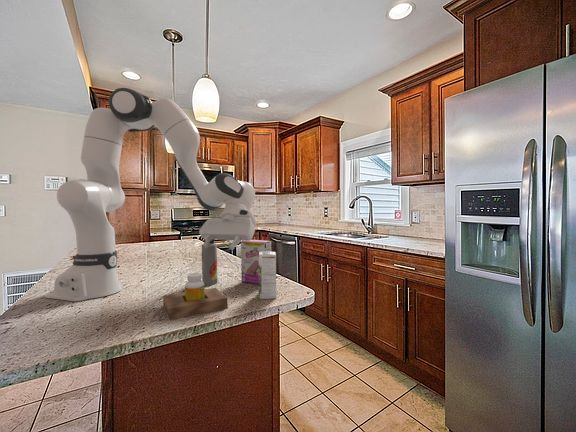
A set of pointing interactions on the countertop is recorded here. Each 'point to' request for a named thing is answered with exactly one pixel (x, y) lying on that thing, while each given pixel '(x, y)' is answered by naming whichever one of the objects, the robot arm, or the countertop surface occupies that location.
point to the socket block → (194, 304)
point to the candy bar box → (252, 258)
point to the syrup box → (267, 275)
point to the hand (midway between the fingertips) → (218, 248)
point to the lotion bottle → (209, 264)
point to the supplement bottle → (194, 287)
